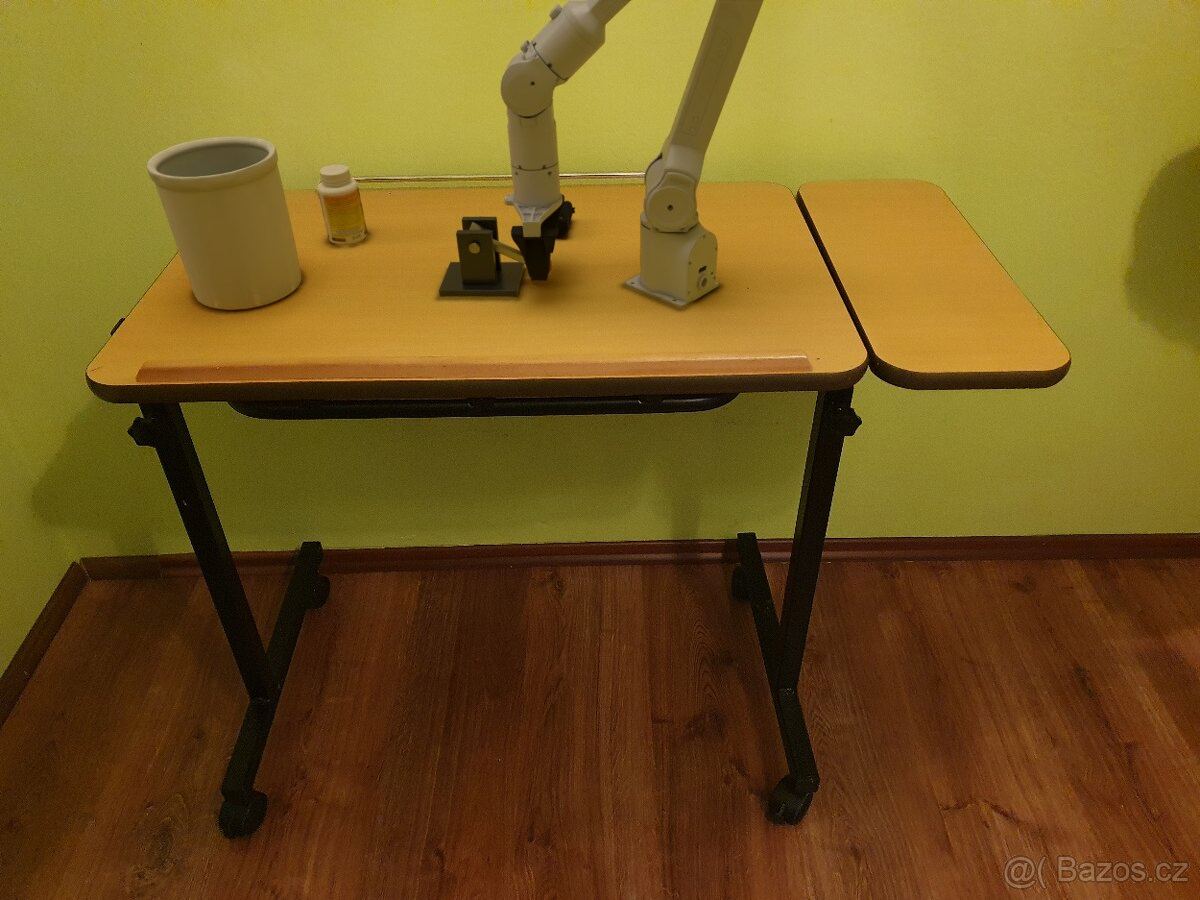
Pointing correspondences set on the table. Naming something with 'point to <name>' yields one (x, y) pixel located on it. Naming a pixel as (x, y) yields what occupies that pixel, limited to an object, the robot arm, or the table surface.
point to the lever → (504, 247)
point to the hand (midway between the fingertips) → (542, 265)
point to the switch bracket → (481, 264)
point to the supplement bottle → (341, 205)
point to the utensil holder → (229, 220)
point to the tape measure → (565, 218)
